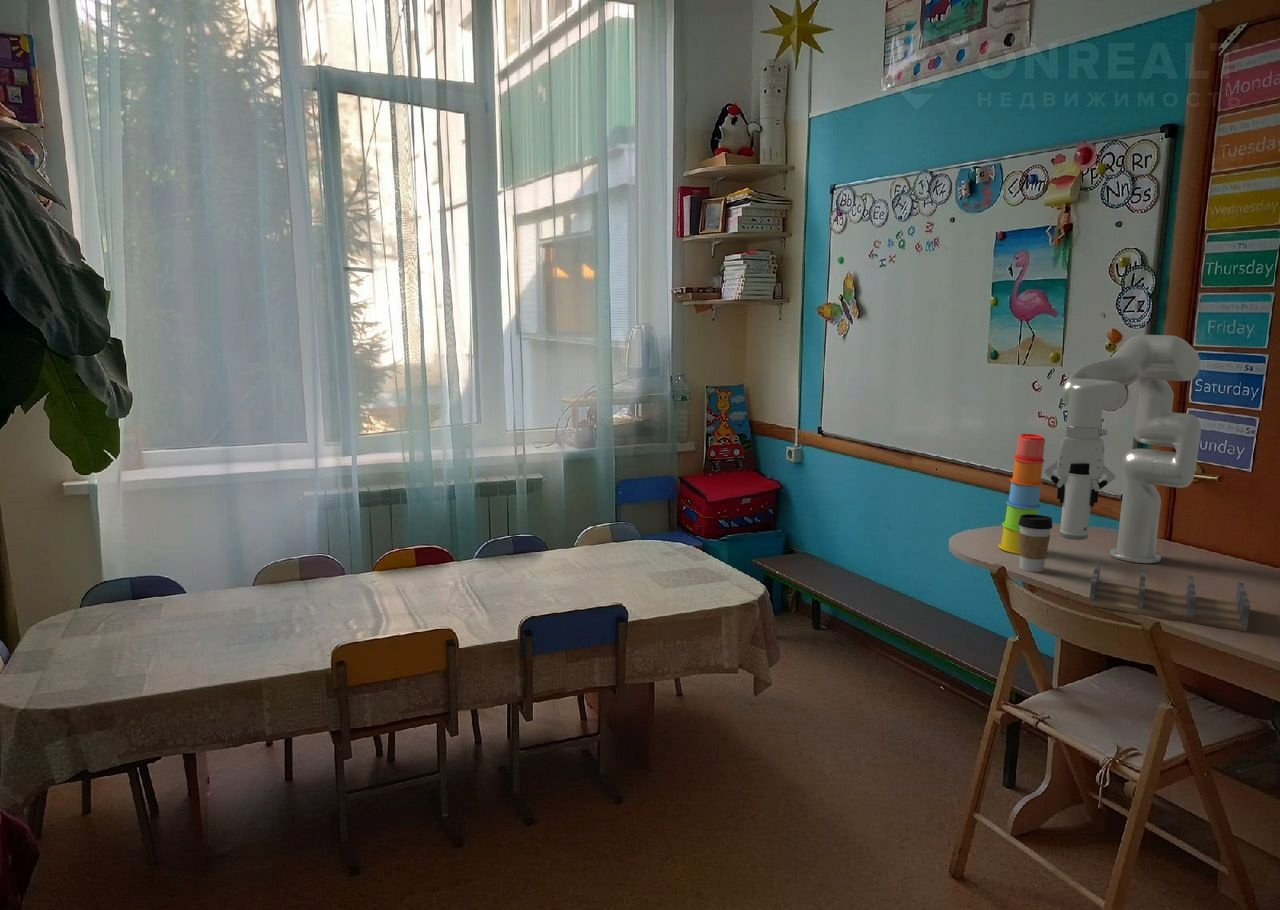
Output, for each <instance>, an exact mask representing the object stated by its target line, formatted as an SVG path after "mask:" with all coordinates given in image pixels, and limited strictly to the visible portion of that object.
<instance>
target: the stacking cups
mask: <svg viewBox="0 0 1280 910" xmlns="http://www.w3.org/2000/svg"><path fill="white" fill-rule="evenodd" d="M1045 443H1046V440H1045V437H1044V436H1043V435H1040V434H1034V433H1021V434H1020V436H1018V440H1017V447H1016V453H1015V456H1013V459H1014V464H1013V470H1012V471H1013V473H1012V477H1011V478H1009V481H1010V482H1011V483H1010V489H1009V495H1008V500H1006V502H1005V503H1006V504H1007V506H1006V514H1005V520H1004V521H1003V522H1002V524H1001V525H1002V526H1003V527H1002V528H1003V530H1002V535H1001V542H1000V543H999V544H998V548H999V549H1001V551H1005V552H1007V553H1011V554H1017V555H1020V548H1019V531H1020V525H1019V520H1020V517H1021V515H1024V514H1034V515H1039V509H1040V508H1041V504H1040V496H1041V488H1042V485H1044V484H1043V482H1042V475H1043V474H1042V473H1043V465H1044V463H1045V459H1044V453H1045V445H1046V444H1045Z"/></svg>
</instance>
